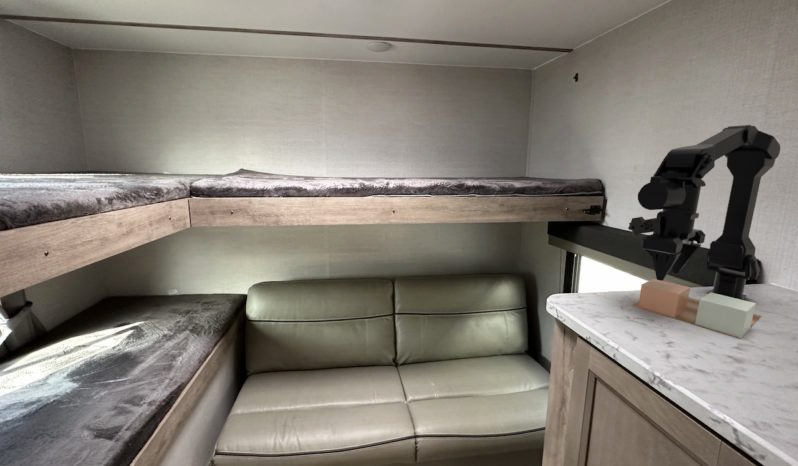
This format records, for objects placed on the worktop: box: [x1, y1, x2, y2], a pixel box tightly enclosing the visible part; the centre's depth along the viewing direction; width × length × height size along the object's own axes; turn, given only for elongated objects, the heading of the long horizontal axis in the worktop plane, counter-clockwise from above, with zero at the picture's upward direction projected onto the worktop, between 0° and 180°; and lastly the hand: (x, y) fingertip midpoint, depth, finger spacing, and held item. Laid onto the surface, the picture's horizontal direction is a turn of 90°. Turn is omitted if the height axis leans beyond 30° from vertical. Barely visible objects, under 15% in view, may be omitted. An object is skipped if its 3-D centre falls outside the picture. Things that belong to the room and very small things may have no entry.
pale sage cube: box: [695, 292, 757, 339], centre depth 70 cm, size 7×7×6 cm
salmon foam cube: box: [638, 278, 691, 319], centre depth 79 cm, size 7×7×6 cm
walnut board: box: [632, 296, 763, 340], centre depth 78 cm, size 18×18×1 cm
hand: (667, 276), depth 78 cm, fingers open, 9 cm apart
